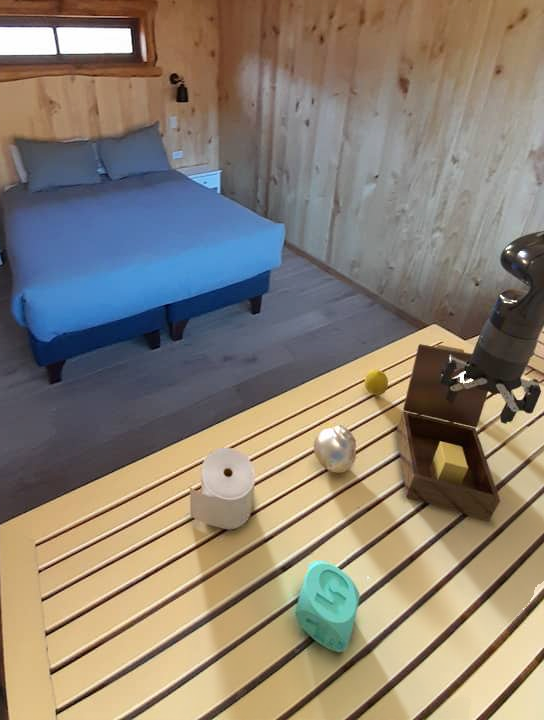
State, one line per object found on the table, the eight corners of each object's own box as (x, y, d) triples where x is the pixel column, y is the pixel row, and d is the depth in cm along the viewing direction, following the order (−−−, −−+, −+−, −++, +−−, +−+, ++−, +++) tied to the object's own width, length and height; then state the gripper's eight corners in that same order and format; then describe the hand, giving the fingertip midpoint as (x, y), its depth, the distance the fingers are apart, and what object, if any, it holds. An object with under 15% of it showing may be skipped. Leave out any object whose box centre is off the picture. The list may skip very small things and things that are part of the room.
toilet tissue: (260, 494, 85) (264, 464, 80) (234, 548, 76) (236, 518, 72) (217, 468, 90) (218, 438, 86) (187, 515, 81) (187, 485, 77)
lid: (498, 360, 84) (489, 347, 89) (419, 345, 89) (415, 334, 94) (476, 427, 90) (469, 412, 94) (403, 410, 94) (400, 396, 99)
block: (449, 473, 87) (461, 446, 83) (455, 495, 83) (468, 468, 79) (429, 468, 88) (440, 441, 84) (433, 489, 84) (445, 462, 80)
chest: (488, 521, 79) (500, 500, 76) (406, 497, 84) (413, 476, 81) (466, 448, 93) (475, 428, 90) (396, 430, 98) (402, 410, 95)
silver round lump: (361, 481, 87) (370, 451, 83) (318, 481, 87) (324, 452, 83) (346, 443, 95) (353, 414, 91) (306, 444, 95) (311, 415, 91)
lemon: (385, 390, 109) (391, 368, 105) (383, 404, 105) (389, 382, 101) (364, 382, 112) (369, 361, 108) (360, 396, 107) (366, 374, 104)
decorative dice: (292, 624, 66) (297, 600, 62) (308, 575, 72) (313, 551, 68) (342, 661, 62) (350, 638, 58) (354, 606, 68) (362, 582, 64)
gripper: (552, 347, 70) (518, 412, 77) (456, 321, 76) (434, 383, 84) (561, 375, 64) (524, 442, 71) (456, 345, 71) (432, 409, 78)
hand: (475, 410), depth 77 cm, fingers open, 8 cm apart
